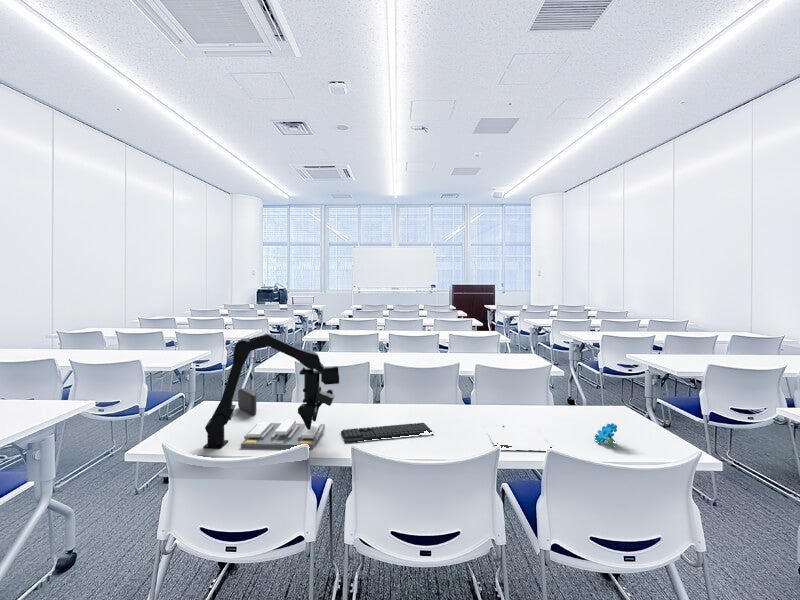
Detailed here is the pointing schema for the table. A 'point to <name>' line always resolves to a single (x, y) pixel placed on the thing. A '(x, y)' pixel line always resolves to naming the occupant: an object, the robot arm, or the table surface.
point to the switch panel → (281, 438)
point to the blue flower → (606, 434)
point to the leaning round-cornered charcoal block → (247, 400)
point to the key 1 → (259, 429)
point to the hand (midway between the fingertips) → (311, 425)
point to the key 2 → (311, 431)
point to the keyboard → (383, 432)
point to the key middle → (285, 427)
